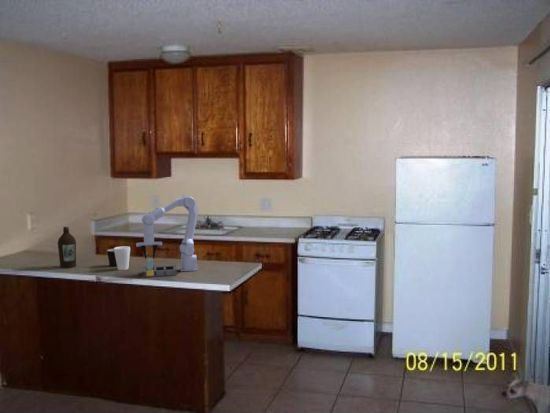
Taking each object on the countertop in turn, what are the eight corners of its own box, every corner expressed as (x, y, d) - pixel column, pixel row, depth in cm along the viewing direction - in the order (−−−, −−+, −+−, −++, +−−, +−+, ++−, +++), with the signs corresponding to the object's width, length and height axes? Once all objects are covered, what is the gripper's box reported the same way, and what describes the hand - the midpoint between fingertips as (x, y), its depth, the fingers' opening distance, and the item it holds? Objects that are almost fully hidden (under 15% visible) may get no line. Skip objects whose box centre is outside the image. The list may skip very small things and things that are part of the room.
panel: (153, 271, 336) (152, 258, 336) (153, 274, 329) (152, 261, 328) (147, 272, 336) (147, 258, 335) (147, 275, 328) (147, 261, 327)
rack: (176, 270, 341) (176, 265, 341) (177, 275, 328) (176, 269, 328) (143, 272, 338) (143, 266, 337) (143, 277, 325) (142, 271, 324)
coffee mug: (108, 267, 352) (107, 251, 351) (107, 265, 360) (106, 249, 359) (127, 266, 357) (127, 250, 356) (126, 263, 365) (125, 247, 363)
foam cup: (118, 271, 342) (117, 249, 341) (112, 268, 349) (111, 247, 348) (133, 269, 348) (132, 247, 346) (127, 266, 355) (126, 245, 354)
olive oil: (57, 266, 359) (55, 226, 356) (74, 264, 365) (72, 225, 362) (61, 269, 350) (59, 228, 347) (79, 267, 356) (77, 227, 353)
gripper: (161, 233, 335) (162, 256, 336) (136, 234, 332) (137, 257, 334) (161, 235, 328) (162, 258, 330) (135, 236, 325) (136, 260, 327)
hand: (149, 258), depth 331 cm, fingers open, 4 cm apart
